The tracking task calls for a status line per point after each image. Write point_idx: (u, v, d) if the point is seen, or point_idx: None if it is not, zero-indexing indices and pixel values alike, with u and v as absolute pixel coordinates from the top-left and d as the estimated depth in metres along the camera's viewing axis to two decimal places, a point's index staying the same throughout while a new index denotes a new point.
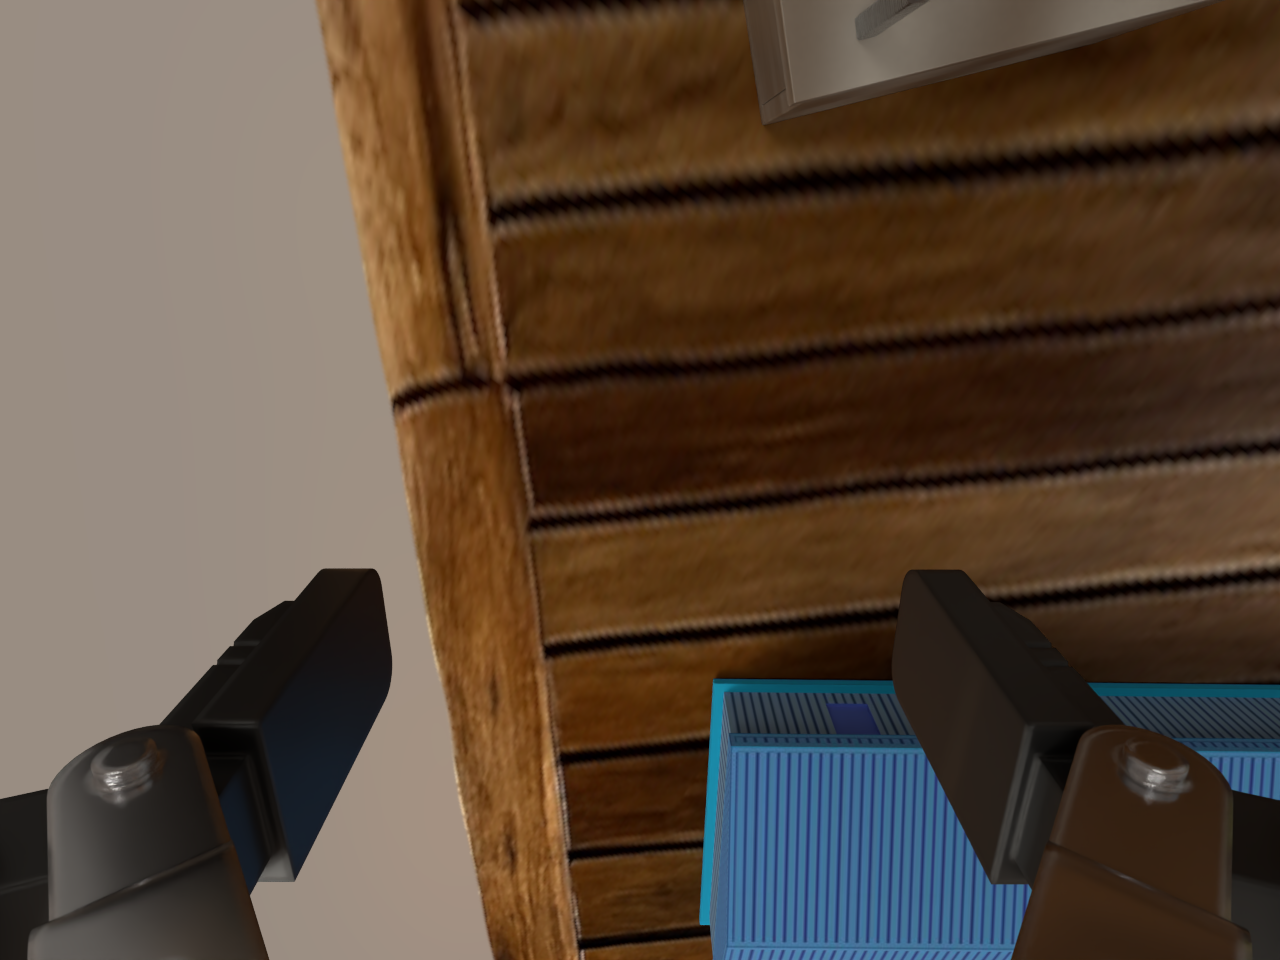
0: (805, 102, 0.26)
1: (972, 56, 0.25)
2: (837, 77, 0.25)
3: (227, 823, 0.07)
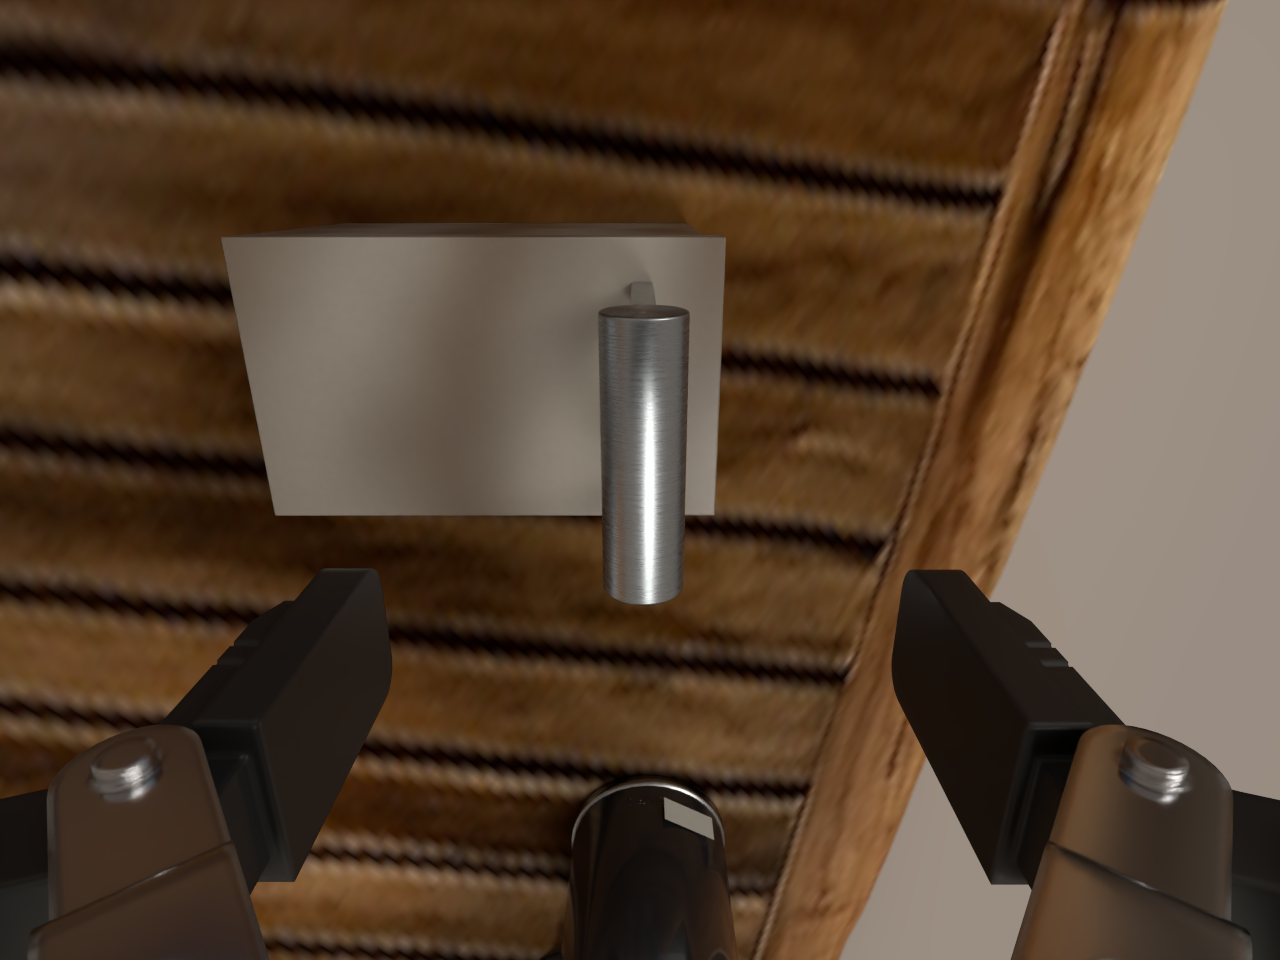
0: None
1: (534, 239, 0.23)
2: (677, 251, 0.24)
3: (227, 823, 0.07)
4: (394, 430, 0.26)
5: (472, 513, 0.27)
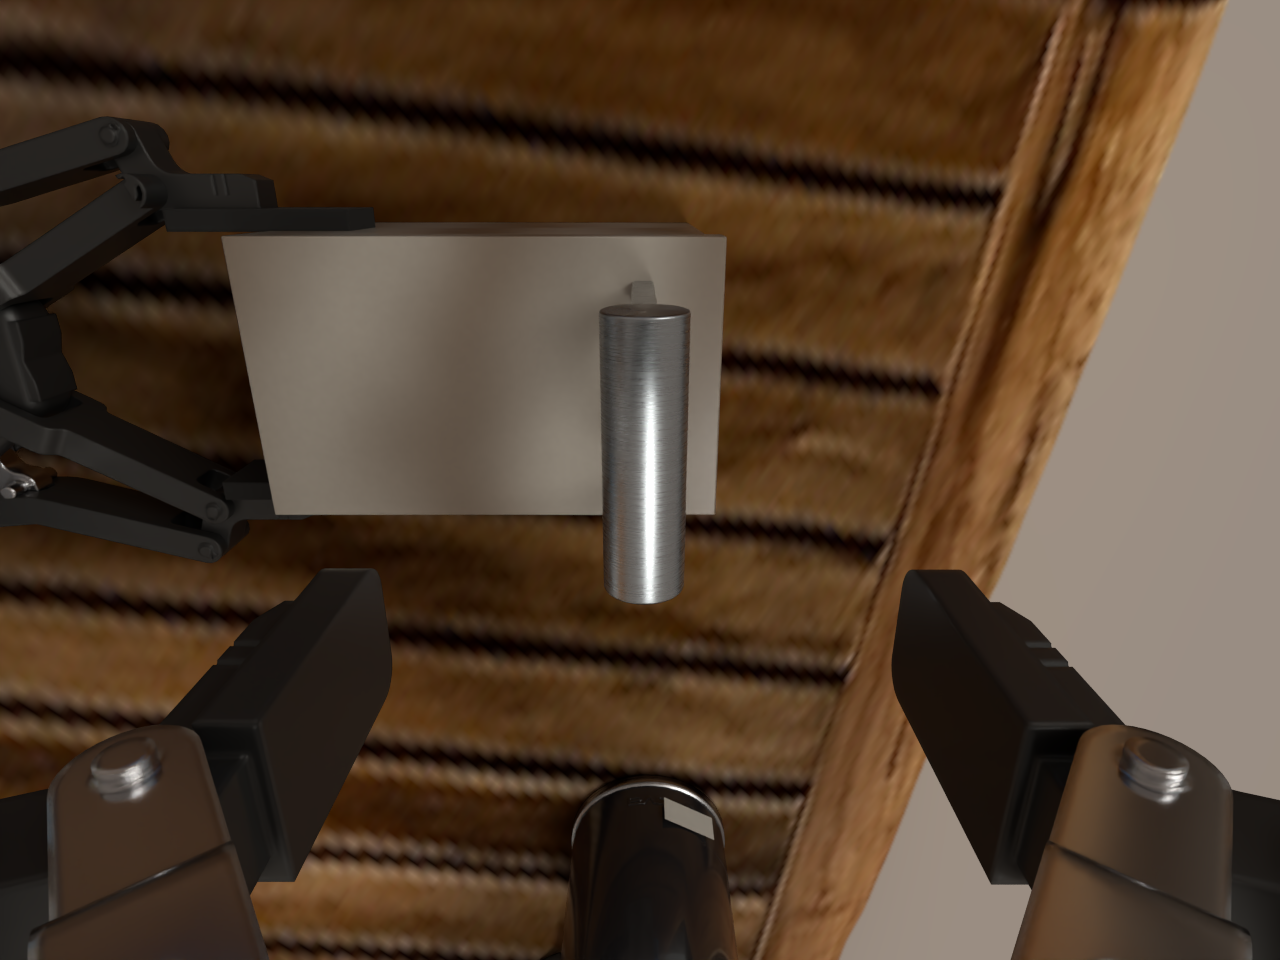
0: (702, 234, 0.25)
1: (535, 238, 0.23)
2: (678, 250, 0.24)
3: (227, 823, 0.07)
4: (394, 429, 0.26)
5: (472, 512, 0.27)
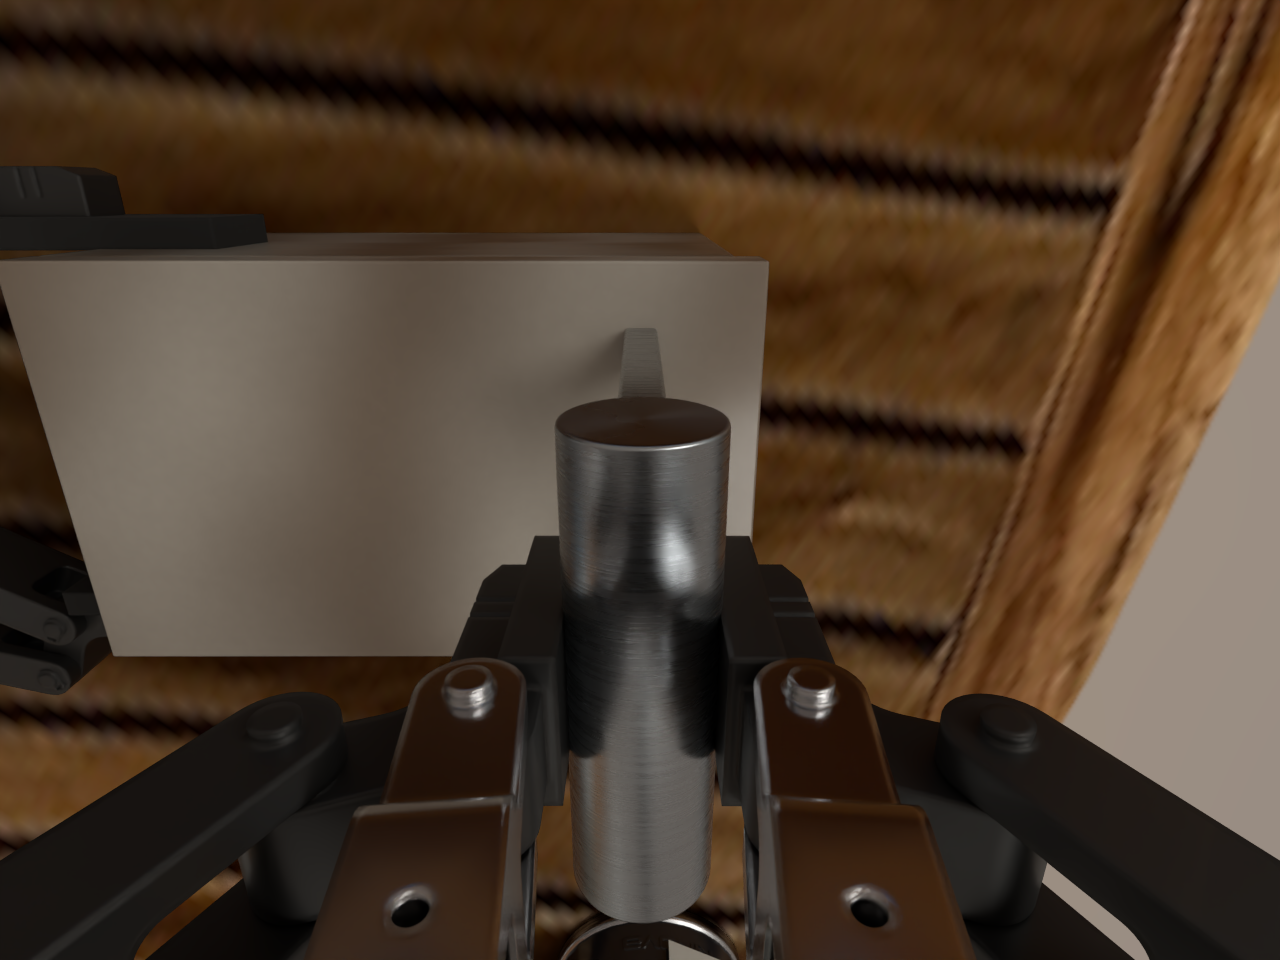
0: (730, 255, 0.16)
1: (475, 264, 0.15)
2: (694, 282, 0.15)
3: (538, 744, 0.08)
4: (277, 541, 0.17)
5: (396, 653, 0.19)
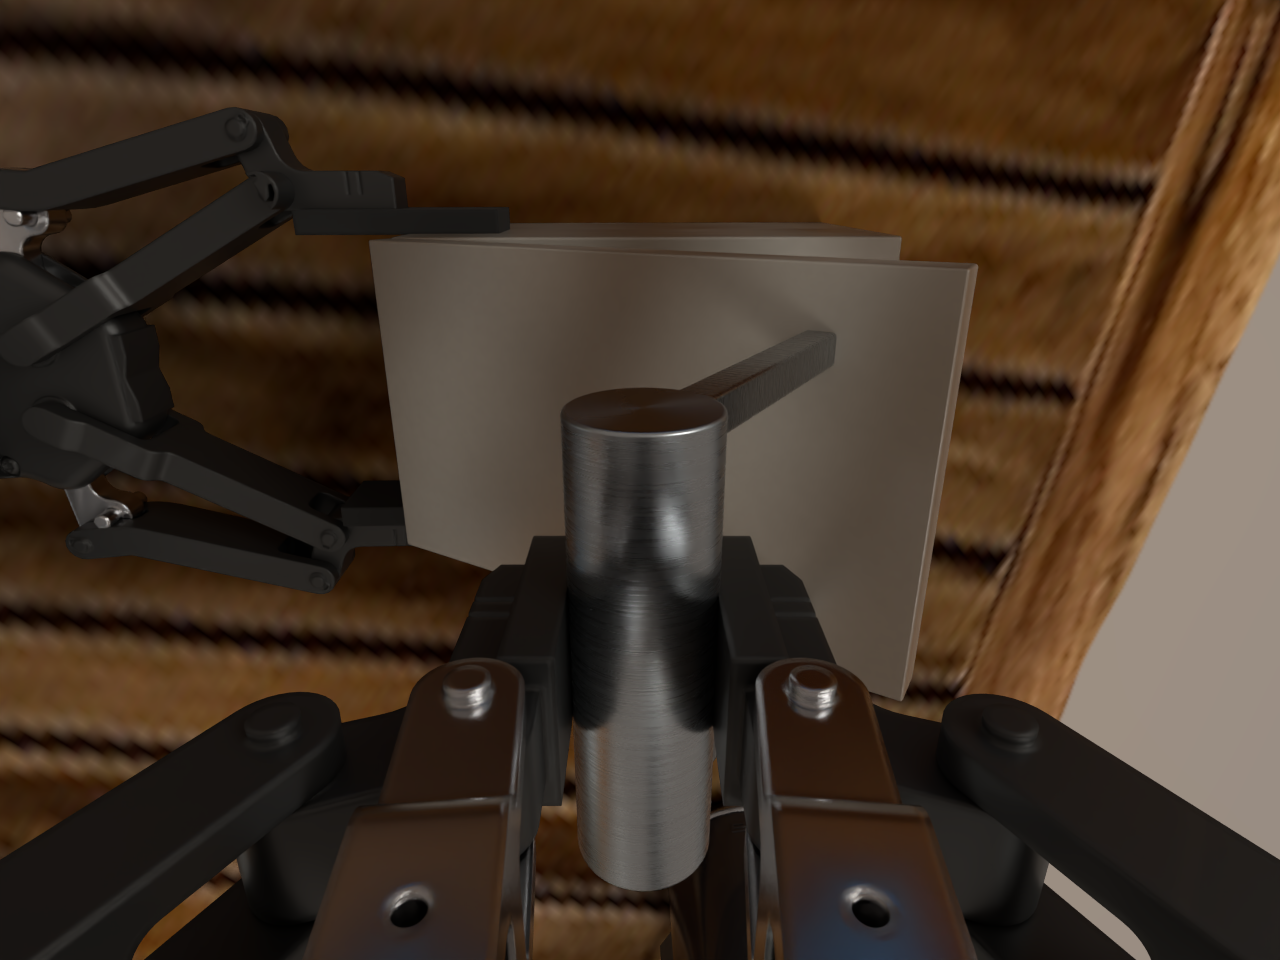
0: (897, 236, 0.22)
1: (676, 257, 0.16)
2: (881, 287, 0.14)
3: (536, 745, 0.08)
4: (511, 480, 0.21)
5: None
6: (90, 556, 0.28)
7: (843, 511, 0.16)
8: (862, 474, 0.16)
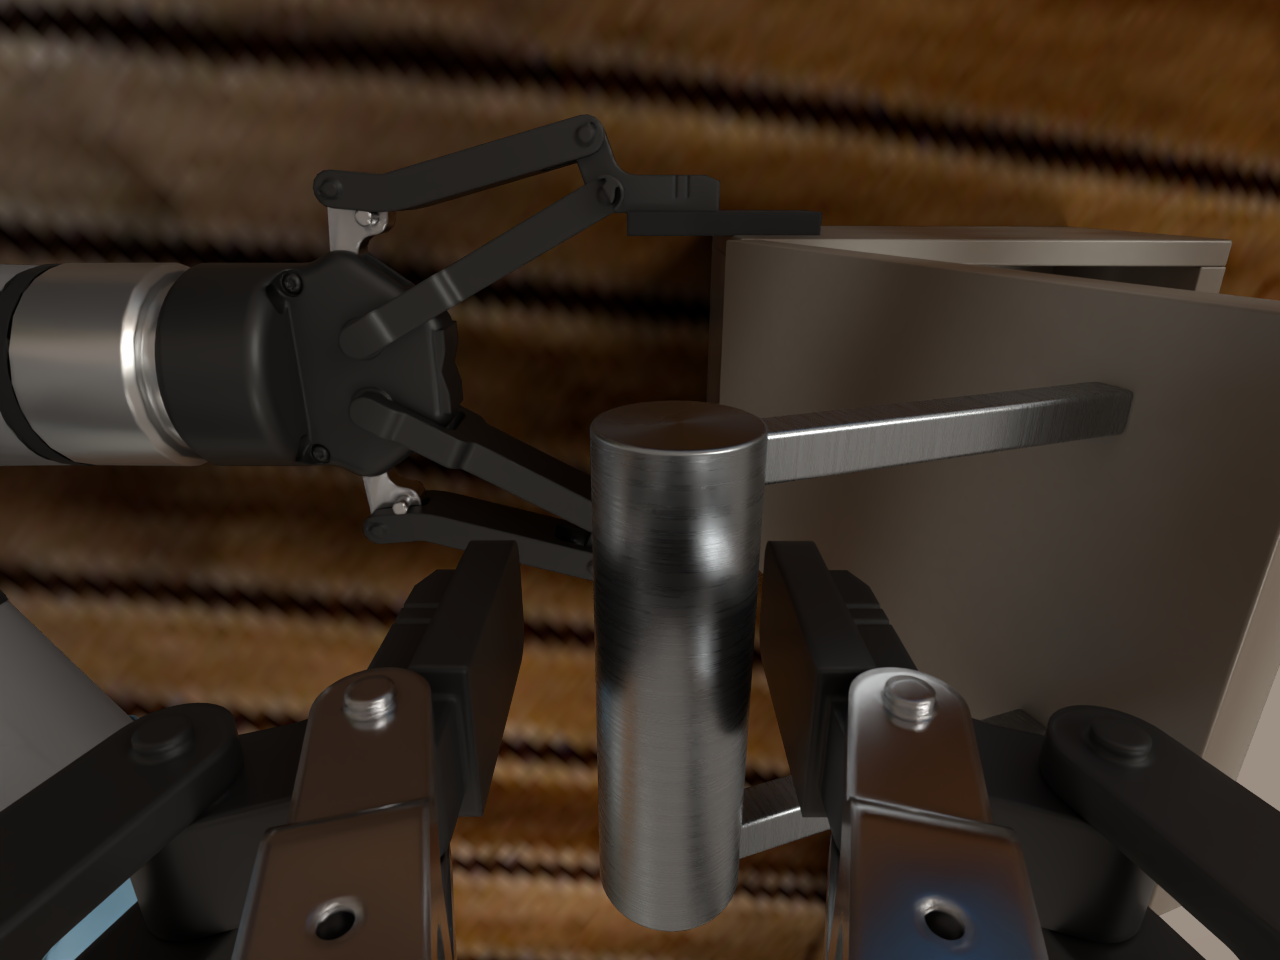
0: None
1: (966, 274, 0.14)
2: (1208, 336, 0.10)
3: (447, 755, 0.08)
4: (791, 491, 0.21)
5: None
6: (384, 541, 0.29)
7: (1106, 632, 0.12)
8: (1138, 590, 0.11)
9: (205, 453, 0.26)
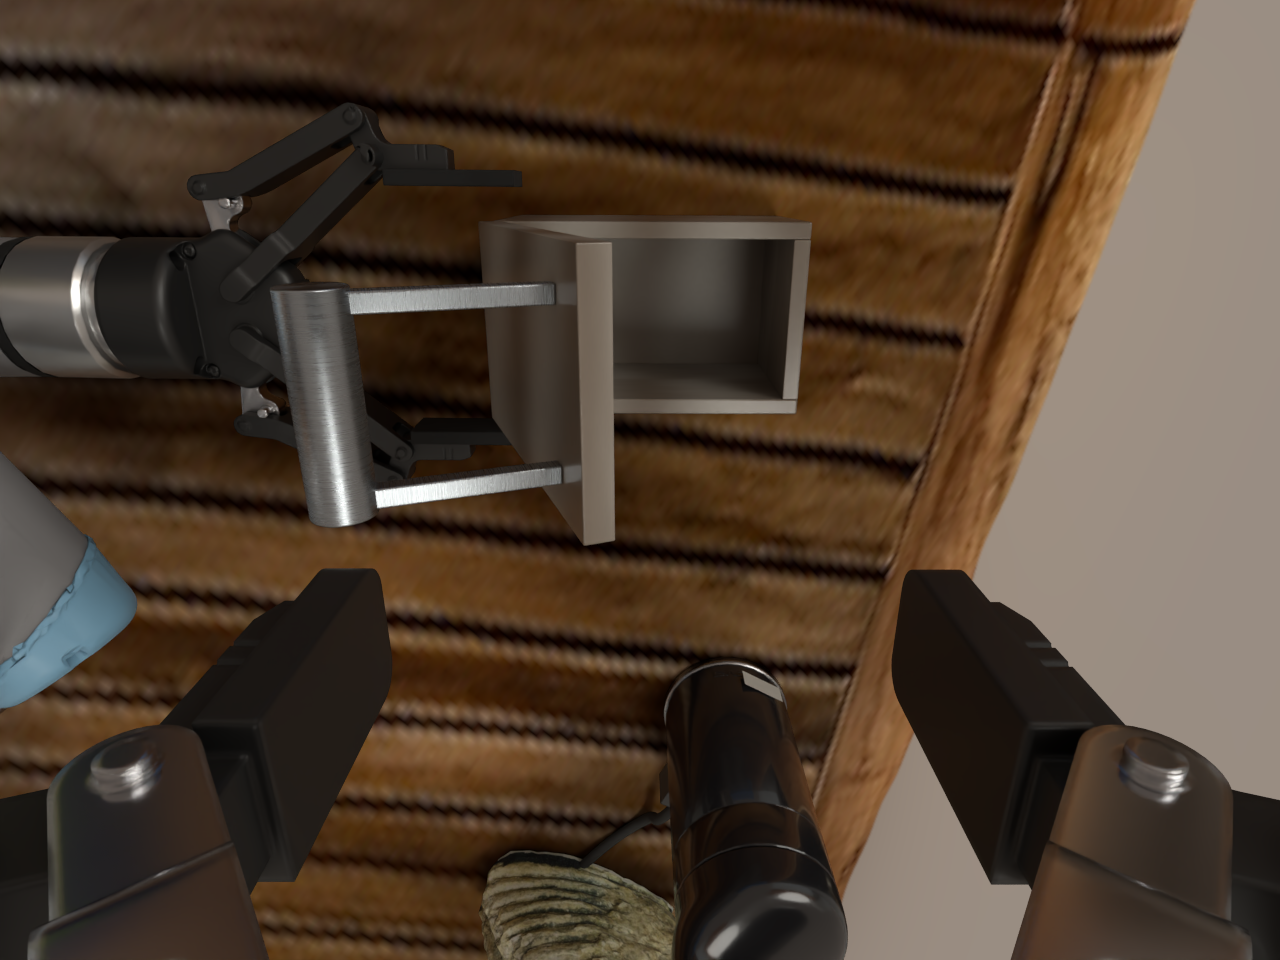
0: (809, 222, 0.36)
1: (527, 234, 0.26)
2: (561, 254, 0.23)
3: (227, 823, 0.07)
4: (507, 376, 0.33)
5: (523, 459, 0.32)
6: (247, 434, 0.42)
7: (564, 404, 0.25)
8: (566, 379, 0.24)
9: (130, 365, 0.39)
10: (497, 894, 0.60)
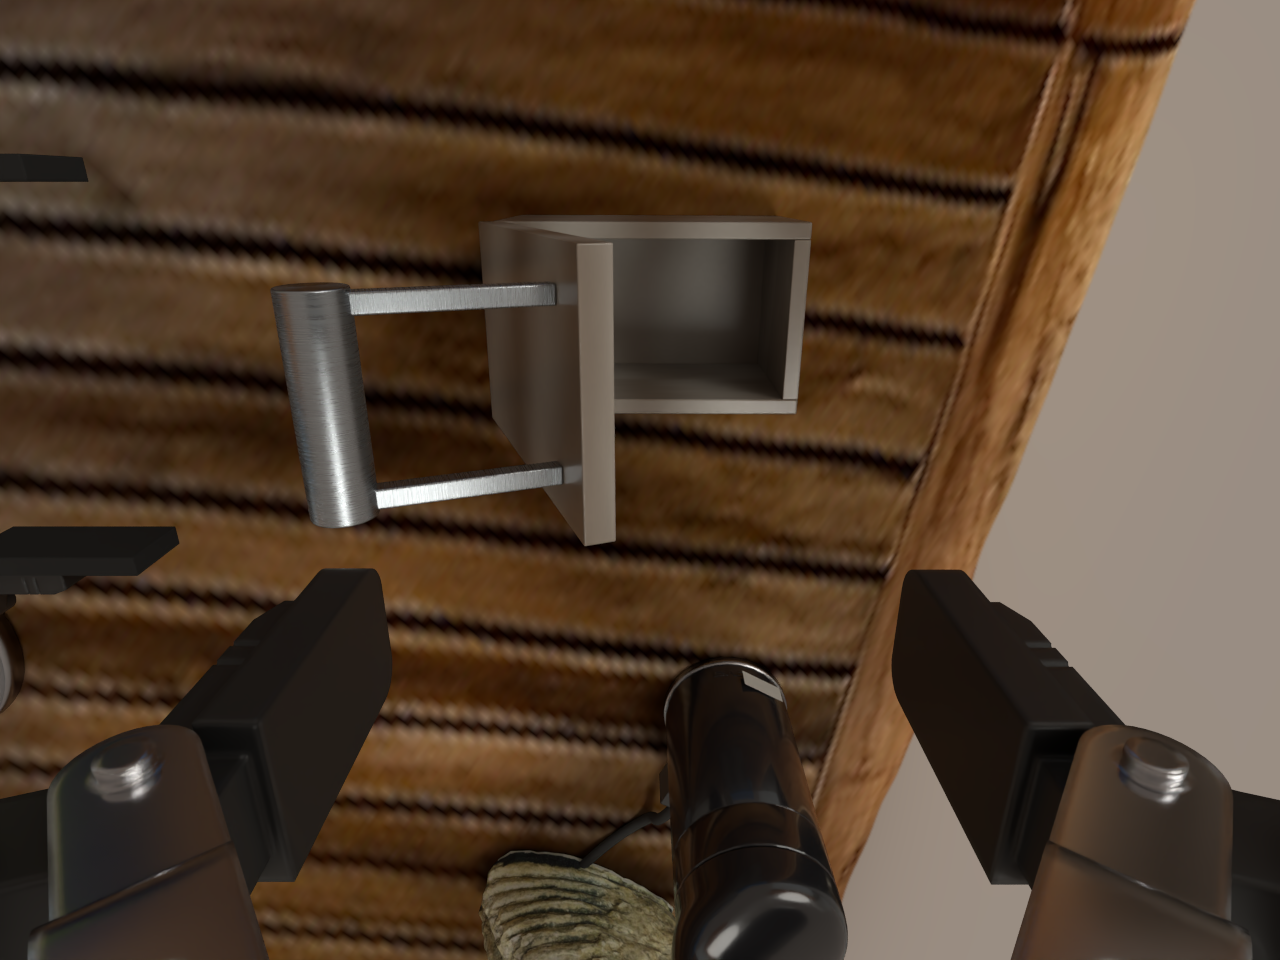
0: (809, 222, 0.36)
1: (527, 234, 0.26)
2: (562, 255, 0.23)
3: (227, 823, 0.07)
4: (507, 376, 0.33)
5: (523, 460, 0.32)
6: None
7: (564, 405, 0.25)
8: (566, 379, 0.24)
9: None
10: (497, 894, 0.60)
